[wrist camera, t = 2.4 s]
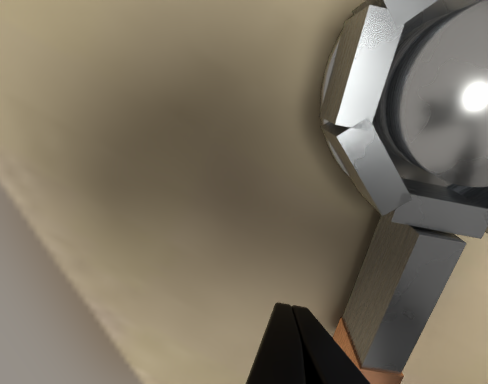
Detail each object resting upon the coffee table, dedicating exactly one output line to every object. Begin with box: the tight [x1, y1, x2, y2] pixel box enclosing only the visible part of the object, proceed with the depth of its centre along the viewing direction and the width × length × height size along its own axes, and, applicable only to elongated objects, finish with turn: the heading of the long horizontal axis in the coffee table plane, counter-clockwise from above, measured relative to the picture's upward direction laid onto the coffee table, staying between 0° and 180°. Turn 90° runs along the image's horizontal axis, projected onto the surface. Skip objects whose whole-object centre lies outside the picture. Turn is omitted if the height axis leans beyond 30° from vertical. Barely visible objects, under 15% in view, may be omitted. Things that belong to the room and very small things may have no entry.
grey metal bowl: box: [320, 0, 488, 187], centre depth 11 cm, size 10×10×4 cm
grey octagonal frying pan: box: [319, 0, 488, 384], centre depth 12 cm, size 18×10×3 cm, turn 169°
